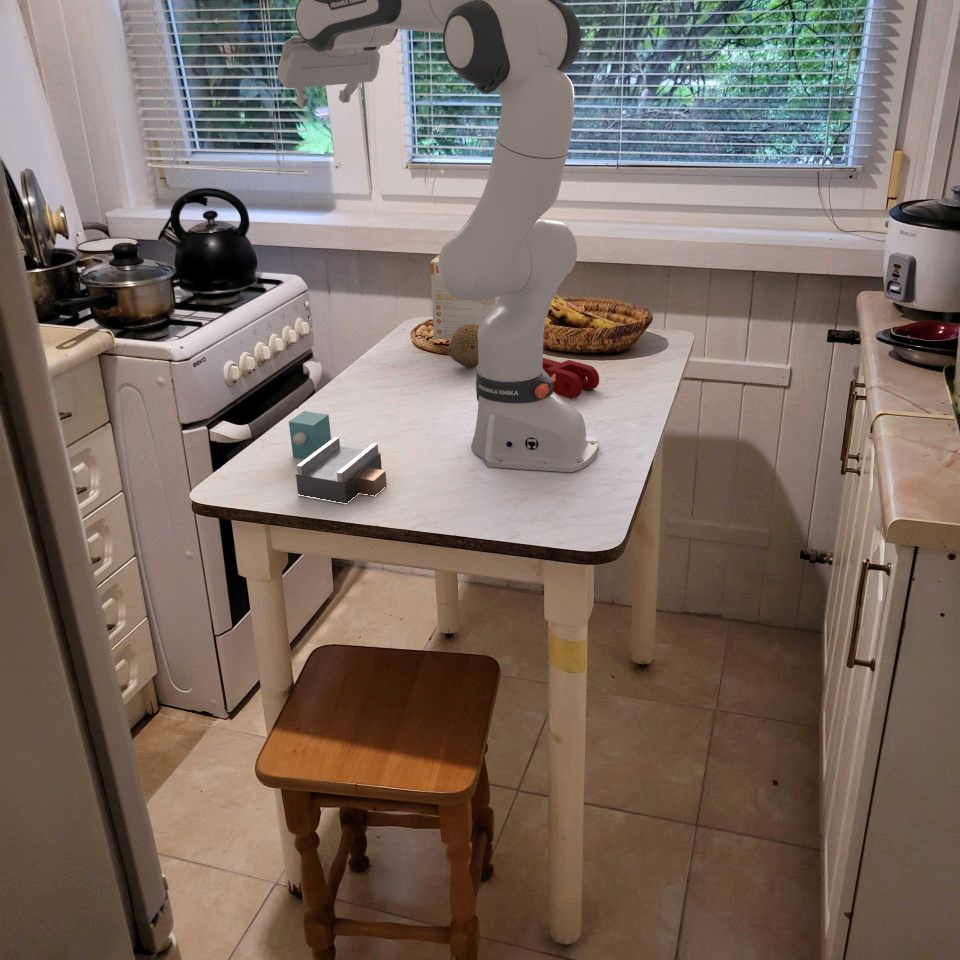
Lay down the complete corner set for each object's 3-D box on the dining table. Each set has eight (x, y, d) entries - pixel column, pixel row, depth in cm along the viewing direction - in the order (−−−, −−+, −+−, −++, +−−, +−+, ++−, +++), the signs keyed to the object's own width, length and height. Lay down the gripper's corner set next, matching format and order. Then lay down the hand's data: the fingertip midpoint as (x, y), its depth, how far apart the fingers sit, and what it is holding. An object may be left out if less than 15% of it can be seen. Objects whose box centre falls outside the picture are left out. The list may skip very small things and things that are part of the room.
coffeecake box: (502, 338, 229) (501, 255, 220) (496, 348, 223) (494, 263, 214) (441, 335, 232) (438, 253, 224) (433, 344, 226) (429, 261, 218)
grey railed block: (397, 476, 164) (395, 446, 161) (363, 508, 154) (360, 476, 152) (335, 466, 168) (332, 436, 166) (298, 496, 158) (294, 465, 156)
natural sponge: (496, 373, 208) (495, 328, 203) (455, 377, 206) (453, 332, 202) (486, 360, 216) (485, 316, 211) (446, 364, 214) (444, 320, 209)
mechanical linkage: (598, 391, 197) (599, 368, 195) (576, 401, 193) (577, 377, 191) (539, 374, 207) (539, 351, 205) (516, 383, 203) (516, 360, 201)
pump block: (332, 450, 174) (328, 414, 171) (313, 465, 169) (308, 428, 166) (308, 447, 176) (304, 411, 173) (288, 461, 171) (283, 424, 167)
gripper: (293, 46, 172) (282, 116, 182) (389, 41, 183) (374, 107, 194) (276, 27, 175) (267, 98, 185) (372, 23, 186) (358, 90, 196)
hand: (323, 103), depth 189 cm, fingers open, 8 cm apart
